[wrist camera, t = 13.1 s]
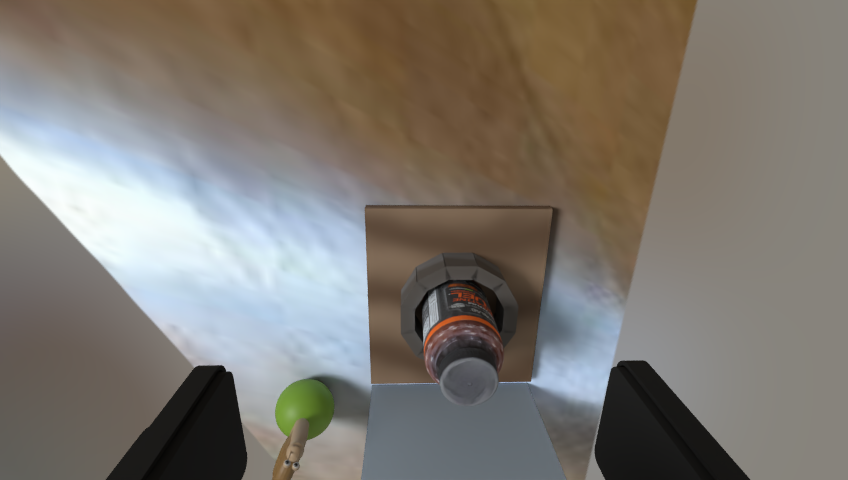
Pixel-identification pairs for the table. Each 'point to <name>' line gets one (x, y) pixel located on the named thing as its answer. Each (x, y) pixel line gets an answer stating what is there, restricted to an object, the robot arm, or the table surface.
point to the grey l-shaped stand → (456, 436)
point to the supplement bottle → (461, 342)
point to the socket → (453, 260)
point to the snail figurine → (300, 421)
